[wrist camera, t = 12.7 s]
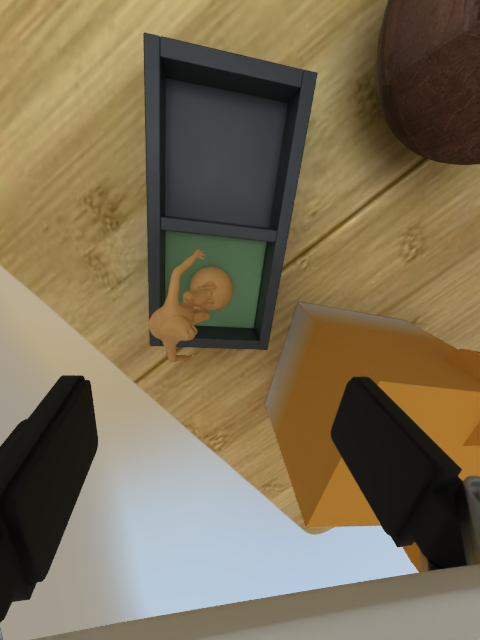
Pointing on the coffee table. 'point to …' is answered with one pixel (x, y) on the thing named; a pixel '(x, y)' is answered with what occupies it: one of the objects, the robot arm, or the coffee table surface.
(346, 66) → the coffee table surface
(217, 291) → the figurine
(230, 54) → the tray
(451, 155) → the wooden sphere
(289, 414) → the fox head
